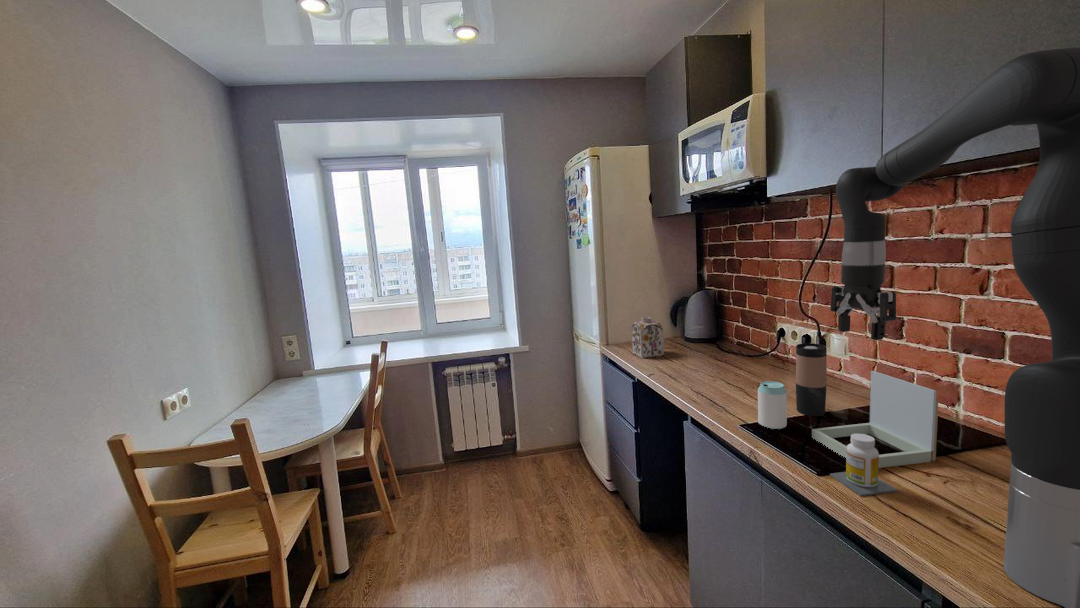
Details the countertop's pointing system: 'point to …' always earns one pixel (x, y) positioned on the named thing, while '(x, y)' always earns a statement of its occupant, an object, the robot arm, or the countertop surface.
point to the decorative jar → (647, 338)
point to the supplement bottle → (862, 461)
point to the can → (772, 405)
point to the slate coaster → (864, 491)
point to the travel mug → (811, 378)
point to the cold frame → (894, 422)
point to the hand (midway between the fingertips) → (859, 335)
